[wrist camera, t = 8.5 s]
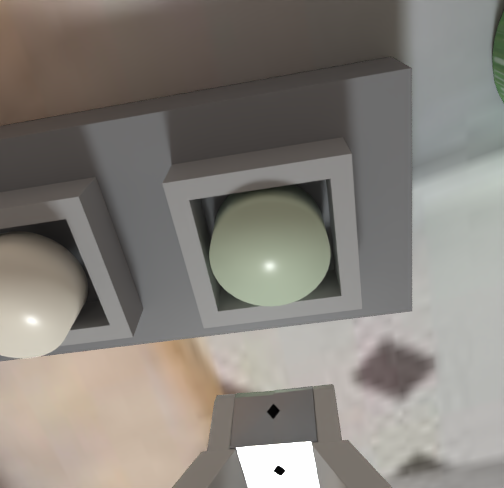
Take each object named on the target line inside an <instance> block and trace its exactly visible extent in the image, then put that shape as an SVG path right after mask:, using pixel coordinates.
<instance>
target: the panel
mask: <svg viewBox="0 0 504 488" xmlns="http://www.w3.org/2000/svg"><path fill="white" fill-rule="evenodd" d="M292 184H293V185H296V186H298V187H299V188H301V189H303V190H304V191H305V192H307V193H308V194H309V195H310V196H311V197H312V198H313V199H314V201H315V202H316V204H317V205H318V207H319V209H320V211H321V214H322V217H323V221H324V225H325V229H326V232H327V236H328V240H329V244H330V253H331V257H330V264H329V267H328V270H327V273H326V275H325V277H324V278H323V280H322V282H321V283H320V284H319V285H318V286H317V287H316V288H315V289H314V290H313V291H312V292H311V293H310V294H308V295H307V296H305V297H303V298H302V299H300V300H298V301H295V302H293V303H289V304H286V305H281V306H259V305H253V304H249V303H247V302H244V301H241V300H239V299H238V298H236V297H234V296H233V295H231V294H230V293H228V292H227V291H226V290H225V289H224V288H223V287H222V286H221V285H220V284H219V282H218V281H217V279H216V278H215V276H214V274H213V271H212V268H211V265H210V259H209V251H210V244H211V239H212V234H213V229H214V224H215V219H216V216H217V213H218V210H219V208H220V206H221V205H222V203H223V202H224V201H225V199H226V198H227V197H228V196H229V195H230V194H233V193H240V192H246V191H253V190H259V189H266V188H272V187H279V186H285V185H292ZM15 231H22V232H31V233H35V234H39V235H42V236H45V237H47V238H50V239H52V240H54V241H56V242H57V243H59V244H60V245H62V246H63V247H65V248H66V249H67V250H68V251H69V252H70V253H71V254H73V255H74V257H75V258H76V259H77V260H78V262H79V263H80V265H81V266H82V268H83V270H84V272H85V274H86V277H87V282H88V296H87V299H86V302H85V304H84V305H83V307H82V309H81V311H80V313H79V314H78V316H77V318H76V320H75V322H74V323H73V325H72V327H71V329H70V330H69V332H68V334H67V336H66V338H65V339H64V341H63V342H62V343H61V345H60V346H59V347H58V348H56V349H55V350H53V351H52V352H50V353H48V354H46V355H43V356H47V355H56V354H64V353H72V352H80V351H88V350H97V349H105V348H113V347H121V346H130V345H138V344H146V343H154V342H163V341H171V340H179V339H187V338H195V337H204V336H212V335H220V334H228V333H237V332H245V331H253V330H261V329H269V328H278V327H286V326H294V325H302V324H311V323H319V322H327V321H335V320H343V319H352V318H360V317H368V316H376V315H385V314H393V313H401V312H409V311H412V68H411V67H409V66H407V65H405V64H403V63H401V62H400V61H398V60H396V59H394V58H392V57H387V58H381V59H376V60H370V61H364V62H359V63H353V64H347V65H342V66H336V67H330V68H325V69H319V70H313V71H308V72H302V73H297V74H291V75H285V76H280V77H274V78H268V79H263V80H257V81H251V82H246V83H240V84H235V85H229V86H223V87H218V88H212V89H206V90H201V91H195V92H189V93H184V94H178V95H173V96H167V97H161V98H156V99H150V100H144V101H139V102H133V103H127V104H122V105H116V106H111V107H105V108H99V109H94V110H88V111H82V112H77V113H71V114H65V115H60V116H54V117H48V118H43V119H37V120H32V121H26V122H20V123H15V124H9V125H3V126H0V234H2V233H7V232H15ZM14 359H23V358H11V357H6V356H1V355H0V361H6V360H14Z"/></svg>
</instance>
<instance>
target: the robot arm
mask: <svg viewBox="0 0 504 488" xmlns="http://www.w3.org/2000/svg"><path fill="white" fill-rule="evenodd" d="M172 488H392V487H391V486H390V485H389V484H388V482H387V481H386V480H385V479H384V478H383V477H382V476H381V475H380V474H379V473H378V472H377V471H376V470H375V468H374V467H373V466H372V465H371V464H370V463H369V462H368V461H367V460H366V459H365V458H364V457H363V456H362V455H361V453H360V452H359V451H358V450H357V449H356V448H355V447H354V446H353V445H352V444H351V443H350V442H349V441H348V440H342V437H341V431H340V424H339V417H338V410H337V403H336V396H335V389H334V385H333V384H331V385H321V386H310V387H301V388H292V389H283V390H275V391H266V392H252V393H237V394H228V395H217V397H216V399H215V402H214V409H213V415H212V422H211V429H210V435H209V442H208V449H207V451H205V452H201V453H200V454H199V455H198V457H197V458H196V459H195V460H194V462H193V463H192V464H191V465H190V466H189V468H188V469H187V470H186V471H185V472H184V474H183V475H182V476H181V477H180V479H179V480H178V481H177V482H176V483H175V485H174V486H173V487H172Z"/></svg>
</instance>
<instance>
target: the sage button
mask: <svg viewBox="0 0 504 488" xmlns="http://www.w3.org/2000/svg"><path fill="white" fill-rule="evenodd" d="M330 257H331V253H330V244H329V240H328V236H327V232H326V229H325V225H324V221H323V217H322V214H321V211H320V209H319V207H318V205H317V204H316V202H315V201H314V199H313V198H312V197H311V196H310V195H309V194H308V193H307V192H305V191H304V190H303V189H301V188H299V187H298V186H296V185H293V184H292V185H285V186H279V187H272V188H266V189H259V190H253V191H246V192H240V193H233V194H230V195H229V196H228V197H227V198H226V199H225V201H224V202H223V203H222V205H221V206H220V208H219V210H218V213H217V216H216V219H215V224H214V229H213V234H212V239H211V244H210V251H209V259H210V265H211V268H212V271H213V274H214V276H215V278H216V279H217V281H218V282H219V284H220V285H221V286H222V287H223V288H224V289H225V290H226V291H227V292H228V293H230V294H231V295H233V296H234V297H236V298H238V299H239V300H241V301H244V302H247V303H249V304H253V305H259V306H281V305H286V304H289V303H293V302H295V301H298V300H300V299H302V298H303V297H305V296H307V295H308V294H310V293H311V292H312V291H313V290H314V289H315V288H316V287H317V286H318V285H319V284H320V283H321V282H322V280H323V278H324V277H325V275H326V273H327V270H328V267H329V264H330Z"/></svg>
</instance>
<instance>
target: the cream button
mask: <svg viewBox="0 0 504 488" xmlns="http://www.w3.org/2000/svg"><path fill="white" fill-rule="evenodd" d="M87 296H88V282H87V277H86V274H85V272H84V270H83V268H82V266H81V265H80V263H79V262H78V260H77V259H76V258H75V257H74V255H73V254H71V253H70V252H69V251H68V250H67V249H66V248H65V247H63V246H62V245H60V244H59V243H57V242H56V241H54V240H52V239H50V238H47V237H45V236H42V235H39V234H35V233H31V232H22V231H15V232H7V233H2V234H0V355H1V356H6V357H11V358H24V359H25V358H35V357H40V356H43V355H46V354H48V353H50V352H52V351H53V350H55V349H56V348H58V347H59V346H60V345H61V343H62V342H63V341H64V339H65V338H66V336H67V334H68V332H69V330H70V329H71V327H72V325H73V323H74V322H75V320H76V318H77V316H78V314H79V313H80V311H81V309H82V307H83V305H84V304H85V302H86V299H87Z"/></svg>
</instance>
